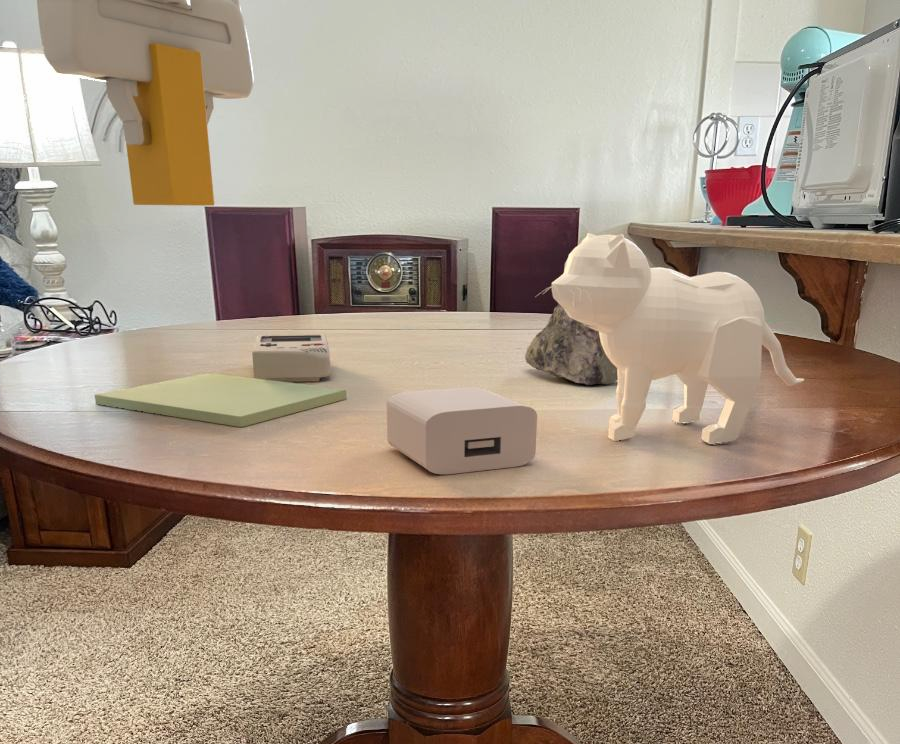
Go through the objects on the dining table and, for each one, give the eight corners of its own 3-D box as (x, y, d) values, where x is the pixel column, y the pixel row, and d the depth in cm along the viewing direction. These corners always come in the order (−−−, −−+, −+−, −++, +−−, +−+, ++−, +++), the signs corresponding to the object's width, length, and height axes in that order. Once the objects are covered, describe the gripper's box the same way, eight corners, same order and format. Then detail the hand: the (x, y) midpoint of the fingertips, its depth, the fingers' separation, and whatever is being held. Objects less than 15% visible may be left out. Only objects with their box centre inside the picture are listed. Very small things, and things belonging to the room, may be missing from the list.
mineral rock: (521, 369, 112) (524, 285, 108) (606, 368, 113) (612, 285, 109) (535, 387, 101) (539, 294, 97) (628, 387, 101) (636, 294, 97)
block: (133, 204, 79) (113, 47, 74) (175, 205, 83) (159, 56, 78) (173, 204, 77) (155, 42, 72) (214, 205, 81) (201, 52, 76)
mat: (95, 404, 91) (94, 394, 91) (209, 381, 104) (208, 372, 103) (241, 427, 82) (240, 416, 81) (346, 398, 94) (346, 389, 94)
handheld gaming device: (253, 383, 102) (251, 349, 101) (258, 363, 116) (256, 333, 114) (331, 383, 104) (330, 349, 102) (327, 363, 117) (326, 333, 115)
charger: (459, 425, 82) (535, 464, 70) (364, 434, 79) (426, 477, 67) (459, 374, 81) (538, 404, 68) (362, 380, 77) (426, 413, 65)
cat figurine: (765, 415, 87) (792, 231, 80) (827, 440, 78) (863, 234, 71) (520, 426, 83) (526, 231, 76) (554, 453, 73) (565, 234, 66)
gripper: (211, -12, 82) (225, 155, 88) (11, -68, 66) (44, 141, 72) (263, -20, 79) (274, 153, 85) (67, -81, 63) (96, 138, 69)
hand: (167, 147), depth 78 cm, fingers closed on block, 5 cm apart
